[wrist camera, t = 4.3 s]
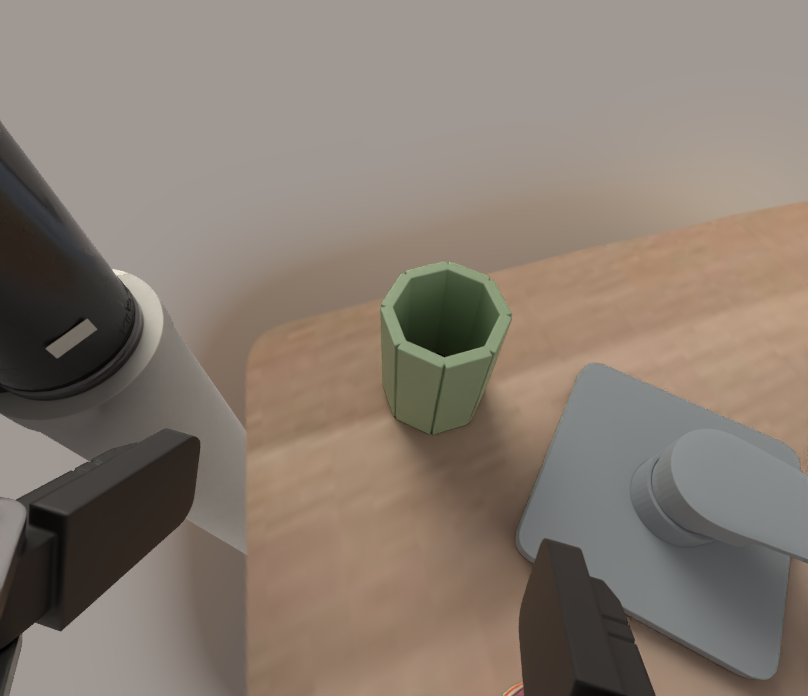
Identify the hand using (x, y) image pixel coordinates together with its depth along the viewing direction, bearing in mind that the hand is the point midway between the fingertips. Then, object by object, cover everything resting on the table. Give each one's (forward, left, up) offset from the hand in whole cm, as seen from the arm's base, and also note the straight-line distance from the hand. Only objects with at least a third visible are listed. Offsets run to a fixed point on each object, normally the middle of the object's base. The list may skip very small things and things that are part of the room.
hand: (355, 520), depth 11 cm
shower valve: (+17, -2, -15) cm, 23 cm away
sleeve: (+6, +9, -15) cm, 19 cm away
